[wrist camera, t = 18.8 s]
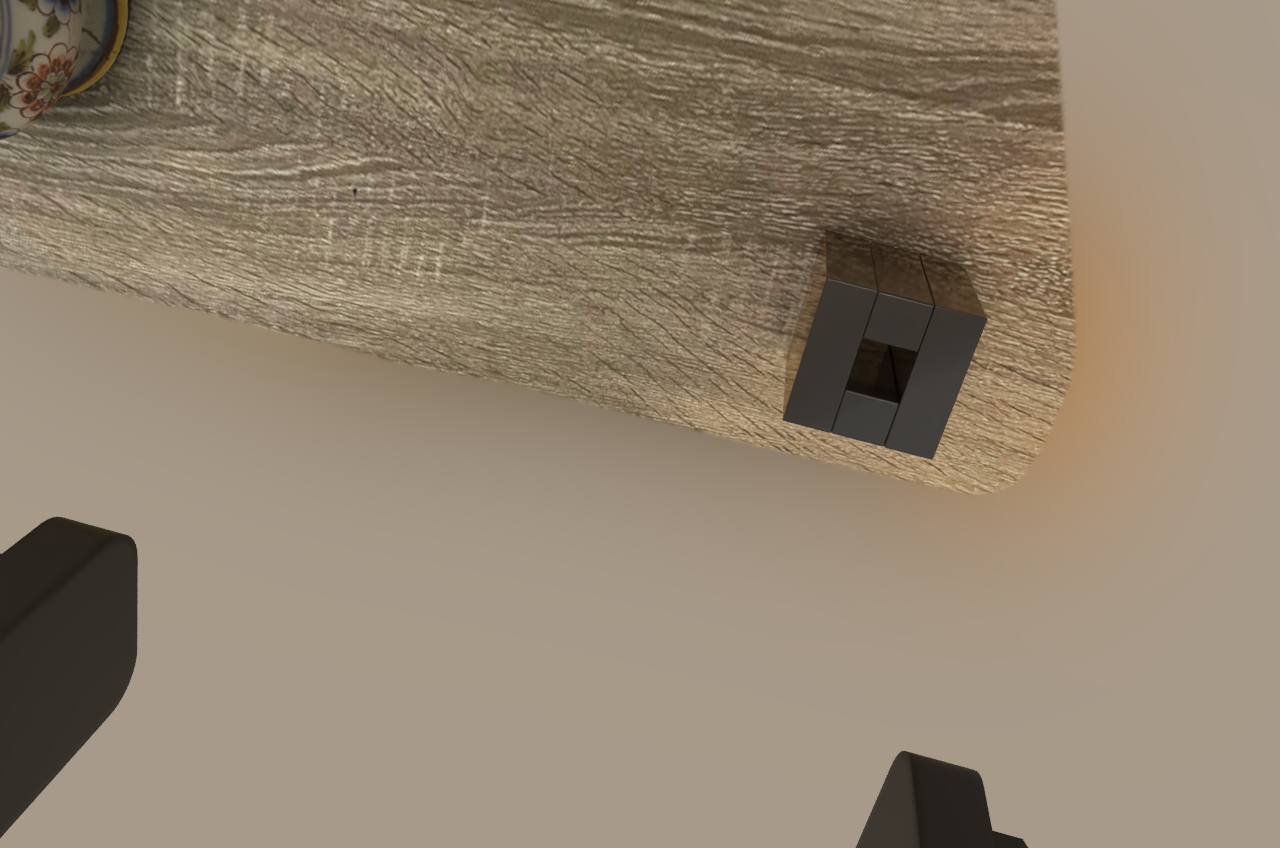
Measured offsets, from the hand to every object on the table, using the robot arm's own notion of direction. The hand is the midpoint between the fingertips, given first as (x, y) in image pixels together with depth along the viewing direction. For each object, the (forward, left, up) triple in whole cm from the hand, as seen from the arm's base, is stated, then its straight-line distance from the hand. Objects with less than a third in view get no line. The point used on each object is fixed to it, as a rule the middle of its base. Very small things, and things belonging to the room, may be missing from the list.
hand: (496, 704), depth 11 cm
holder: (-8, +7, -38) cm, 40 cm away
